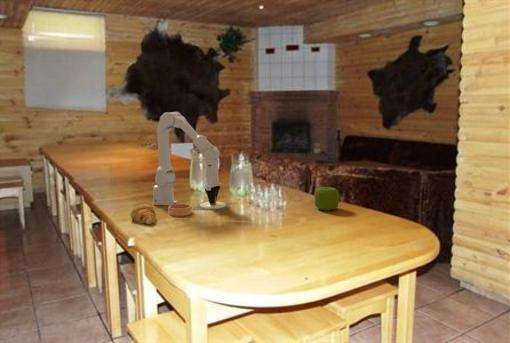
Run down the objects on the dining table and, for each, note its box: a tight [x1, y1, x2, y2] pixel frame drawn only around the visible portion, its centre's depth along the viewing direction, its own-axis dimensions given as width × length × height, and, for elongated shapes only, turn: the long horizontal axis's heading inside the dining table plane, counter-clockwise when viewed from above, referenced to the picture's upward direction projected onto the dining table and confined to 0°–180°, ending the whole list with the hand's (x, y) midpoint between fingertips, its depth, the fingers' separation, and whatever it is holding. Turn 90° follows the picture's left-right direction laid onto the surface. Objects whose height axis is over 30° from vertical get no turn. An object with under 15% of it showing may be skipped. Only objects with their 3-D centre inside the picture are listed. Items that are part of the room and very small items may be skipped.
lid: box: [199, 196, 226, 209], centre depth 206 cm, size 12×12×5 cm
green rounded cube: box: [314, 185, 340, 212], centre depth 202 cm, size 11×11×11 cm
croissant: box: [129, 202, 157, 225], centre depth 187 cm, size 21×10×8 cm, turn 31°
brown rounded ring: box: [167, 203, 193, 217], centre depth 195 cm, size 10×10×4 cm
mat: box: [192, 201, 233, 212], centre depth 207 cm, size 15×15×1 cm
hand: (212, 202), depth 207 cm, fingers closed on lid, 3 cm apart
